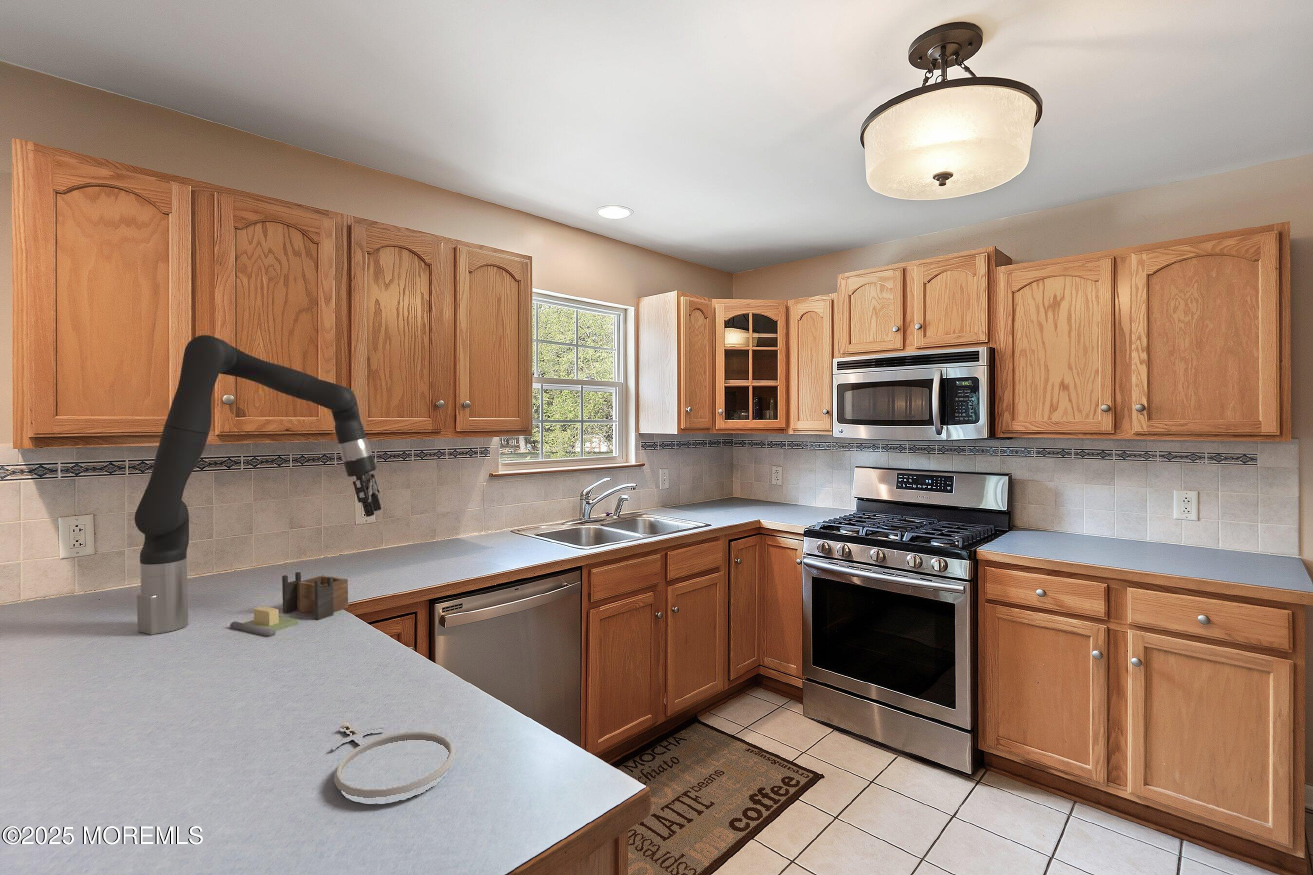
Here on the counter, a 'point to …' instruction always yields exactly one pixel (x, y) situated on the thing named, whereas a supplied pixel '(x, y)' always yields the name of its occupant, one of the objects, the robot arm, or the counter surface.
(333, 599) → the chest
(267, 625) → the lid
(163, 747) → the counter surface
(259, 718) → the counter surface
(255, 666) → the counter surface
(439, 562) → the counter surface
